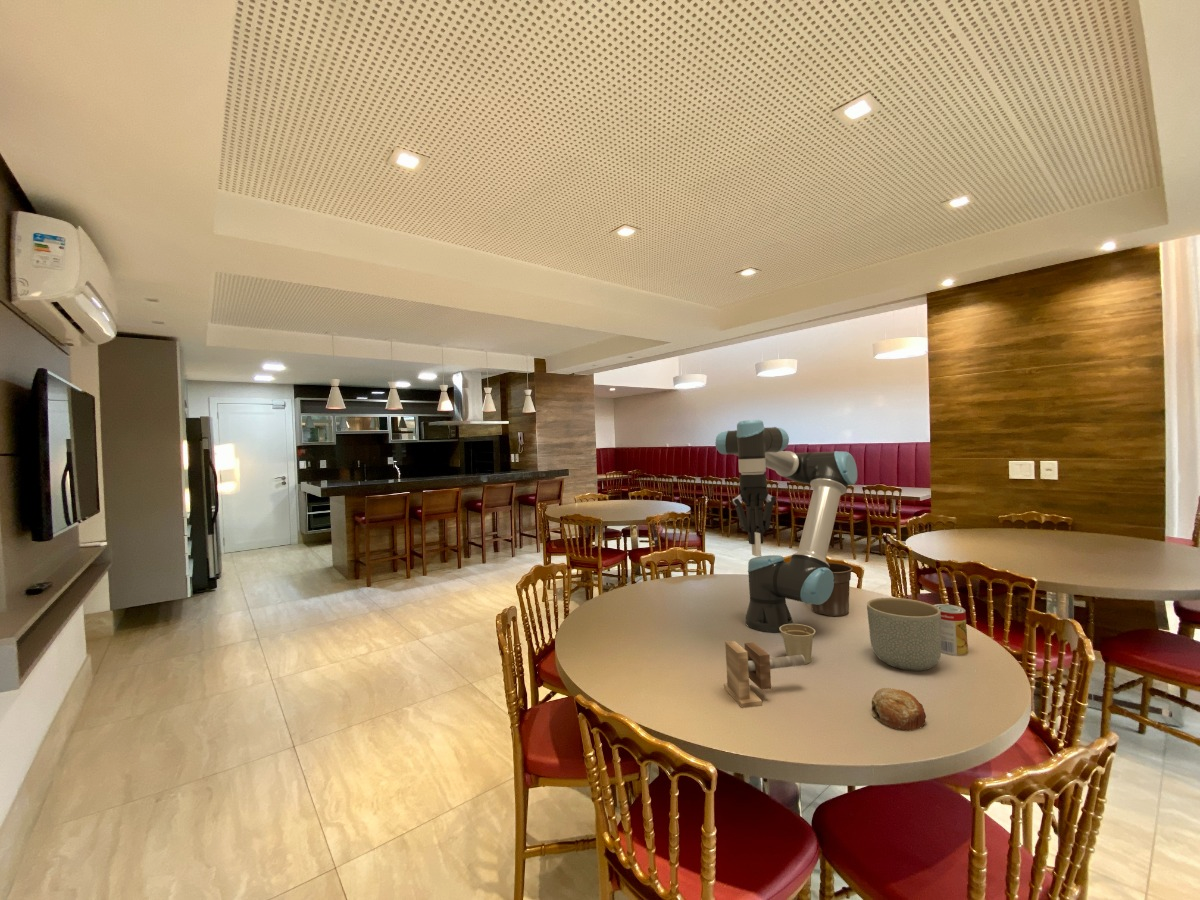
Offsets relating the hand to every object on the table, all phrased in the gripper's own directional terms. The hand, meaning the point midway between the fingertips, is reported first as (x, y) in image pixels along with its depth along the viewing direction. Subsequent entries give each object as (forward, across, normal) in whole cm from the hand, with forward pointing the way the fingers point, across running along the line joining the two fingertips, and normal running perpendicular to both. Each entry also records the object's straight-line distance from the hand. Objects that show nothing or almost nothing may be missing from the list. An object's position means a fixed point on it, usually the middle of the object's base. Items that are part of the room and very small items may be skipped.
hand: (756, 555), depth 138 cm
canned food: (+30, -53, +9) cm, 61 cm away
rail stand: (+29, +8, +19) cm, 36 cm away
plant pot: (+30, -42, -30) cm, 60 cm away
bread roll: (+30, -13, +36) cm, 48 cm away
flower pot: (+30, -9, +4) cm, 31 cm away
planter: (+30, -35, +13) cm, 48 cm away
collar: (+26, +11, +19) cm, 34 cm away
